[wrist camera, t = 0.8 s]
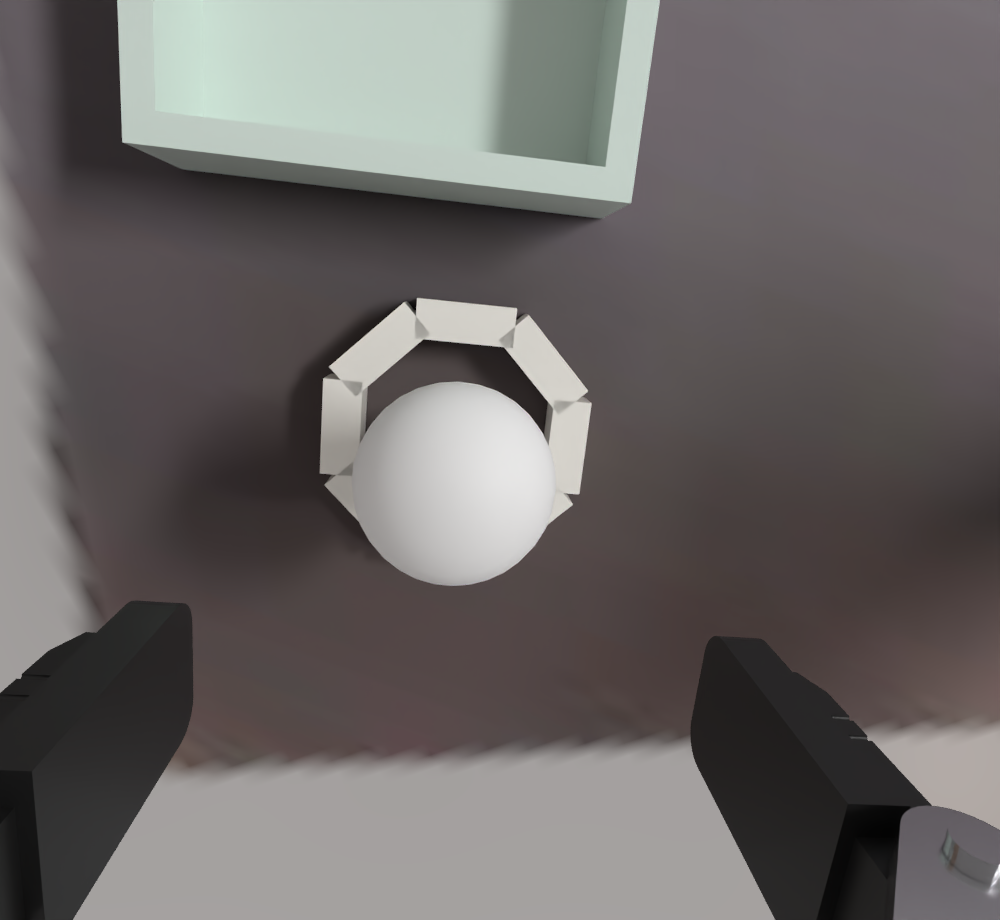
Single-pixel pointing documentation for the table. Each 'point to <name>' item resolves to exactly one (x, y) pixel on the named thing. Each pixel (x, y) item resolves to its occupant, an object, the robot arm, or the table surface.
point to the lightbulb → (453, 483)
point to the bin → (397, 95)
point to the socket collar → (457, 325)
